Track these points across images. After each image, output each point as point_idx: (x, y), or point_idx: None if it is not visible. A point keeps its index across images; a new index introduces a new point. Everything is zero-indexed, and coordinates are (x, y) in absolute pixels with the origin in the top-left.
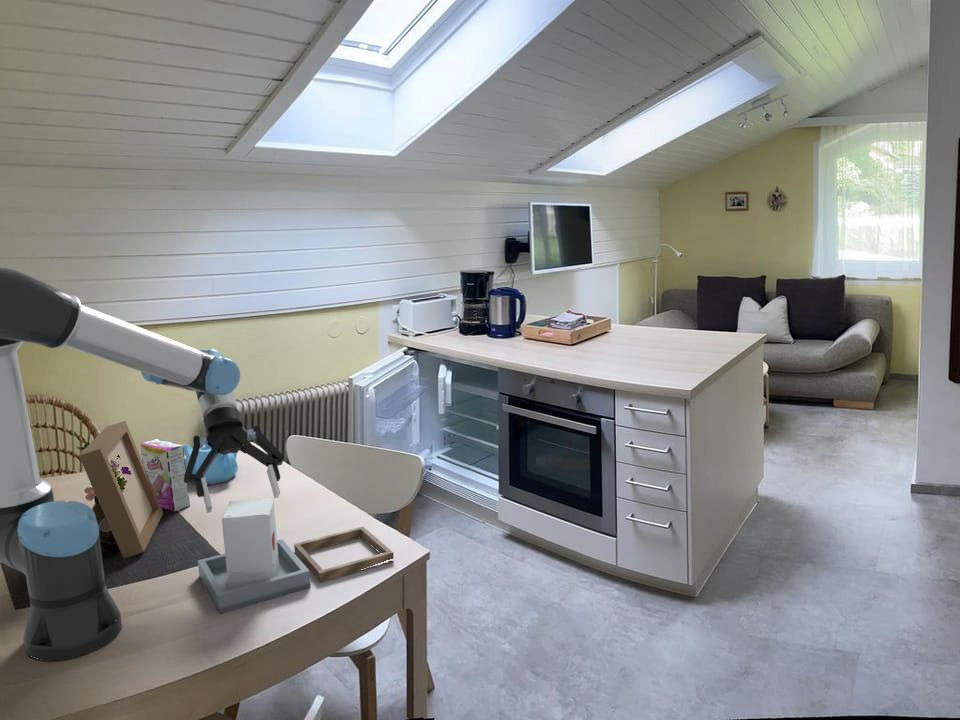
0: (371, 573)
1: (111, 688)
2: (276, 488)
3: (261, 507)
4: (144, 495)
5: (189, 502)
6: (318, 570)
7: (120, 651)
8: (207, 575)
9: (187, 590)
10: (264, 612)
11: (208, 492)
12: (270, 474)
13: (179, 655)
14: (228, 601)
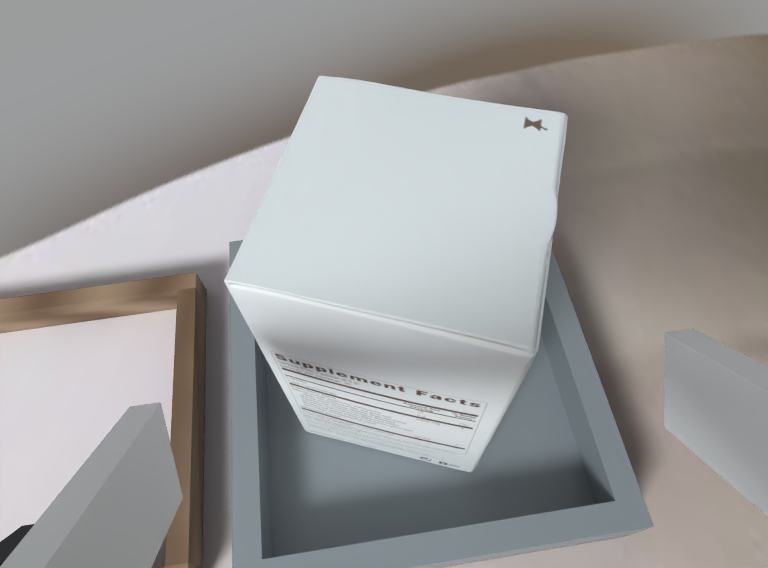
0: (42, 282)
1: (725, 62)
2: (138, 420)
3: (334, 158)
4: None
5: None
6: (192, 292)
7: (760, 167)
8: (585, 353)
9: (651, 428)
10: None
11: (752, 380)
12: (84, 553)
13: (605, 110)
14: None
